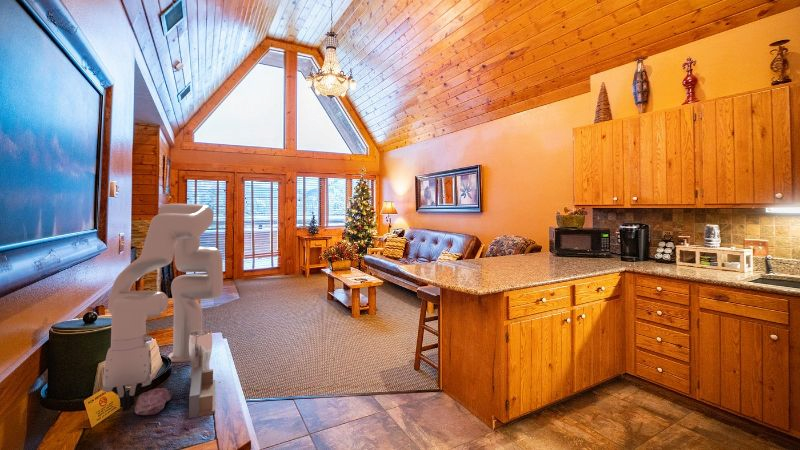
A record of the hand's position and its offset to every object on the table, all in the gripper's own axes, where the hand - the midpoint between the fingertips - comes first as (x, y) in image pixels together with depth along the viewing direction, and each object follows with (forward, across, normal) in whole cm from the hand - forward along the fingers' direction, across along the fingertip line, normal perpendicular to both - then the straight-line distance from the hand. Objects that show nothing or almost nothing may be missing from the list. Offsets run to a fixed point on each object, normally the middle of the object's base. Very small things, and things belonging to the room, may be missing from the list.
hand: (127, 408), depth 96 cm
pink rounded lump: (+2, -6, 0) cm, 6 cm away
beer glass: (+1, -17, -17) cm, 24 cm away
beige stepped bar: (+1, -18, 0) cm, 18 cm away
